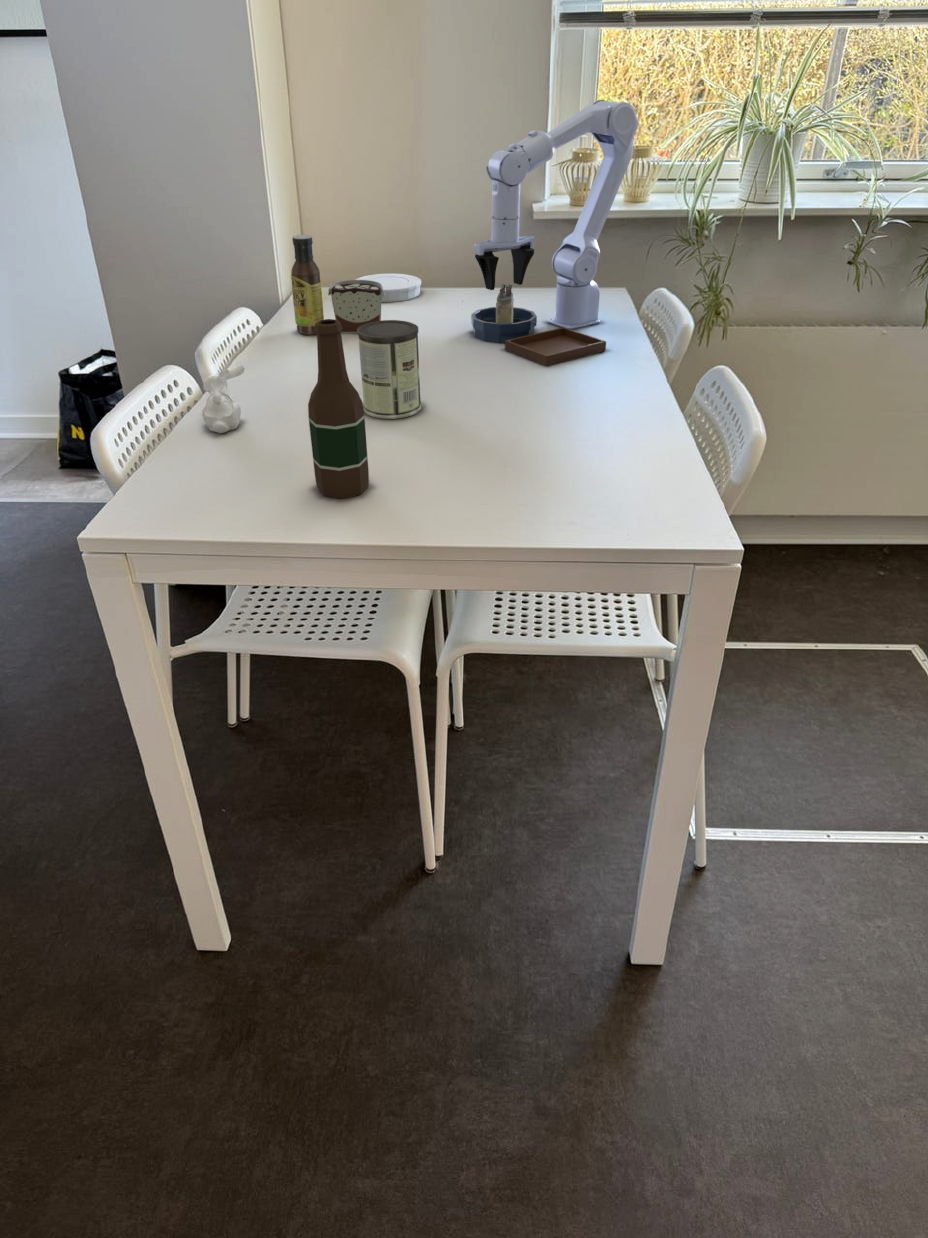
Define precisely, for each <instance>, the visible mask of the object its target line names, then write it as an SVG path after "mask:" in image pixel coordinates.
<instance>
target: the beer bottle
mask: <svg viewBox="0 0 928 1238" xmlns="http://www.w3.org/2000/svg"><path fill="white" fill-rule="evenodd" d="M314 330H315V331H316V332H317V335H316V345H317V346H316V347H317V348H316V349H317V382H316V383H315V385H314V388H313V389H312V390H311V393H310V396H309V399H308V404H307V410H308V411H307V413H308V416H307V417H308V423H309V424H308V426H309V435H310V443H311V453H312V462H313V463H312V464H313V471H314V472H313V473H314V478H315V484H316V488H317V489H318V490H319V491H320V493H321V494H322V495H323V496H324V497H327V498H328V497H329V498H335V499H347V498H352V497H357V496H360V495H362V494H363V492H364V491H365V490H366V489H367V488H368V487H369V485H370V480H369V479H370V475H369V474H370V471H369V460H368V459H369V458H368V445H367V444H368V443H367V432H366V418H365V416H366V415H365V412H364V402H363V400H362V398H361V397H360V394H359V392H358V390H357V389H356V387H354V385H353V383H351V381H350V378H349V375H348V370H347V365H346V357H345V350H344V345H343V344H344V343H343V337H342V333H341V331H342V330H343V327H342V325H341V322H339V321H338V320H336V319H332V318H328V319H327V318H326V319H325V318H324V320H320V321H318V322H317V323H315V328H314Z"/></svg>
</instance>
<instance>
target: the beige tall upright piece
mask: <svg viewBox="0 0 928 1238" xmlns="http://www.w3.org/2000/svg"><path fill="white" fill-rule="evenodd" d="M512 289H513V285H512V284H508V285H506V283H502V284H501V288H499V293H498V295H497V297H496V302H495V307H496V323H513V307H514V301H515V299H514V298H513V297H514V293H513V292H512Z"/></svg>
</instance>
